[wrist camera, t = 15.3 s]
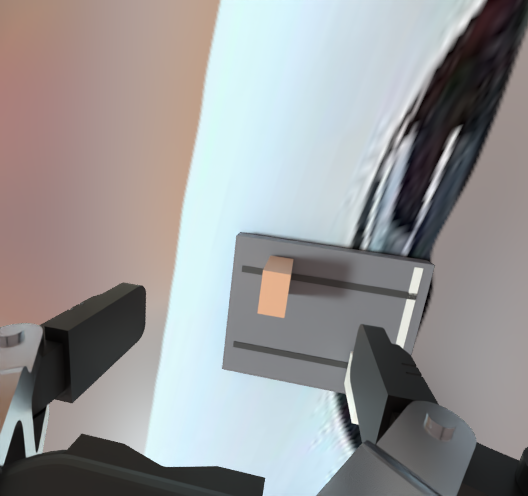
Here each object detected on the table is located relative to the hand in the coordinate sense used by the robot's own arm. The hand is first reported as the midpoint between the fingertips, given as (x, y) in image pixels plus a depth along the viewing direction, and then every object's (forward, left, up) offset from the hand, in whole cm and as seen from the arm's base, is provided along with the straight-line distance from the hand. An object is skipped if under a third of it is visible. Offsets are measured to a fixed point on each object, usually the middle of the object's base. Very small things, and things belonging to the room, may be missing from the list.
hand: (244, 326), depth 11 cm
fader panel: (+2, +10, -22) cm, 24 cm away
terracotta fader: (+3, +3, -20) cm, 20 cm away
